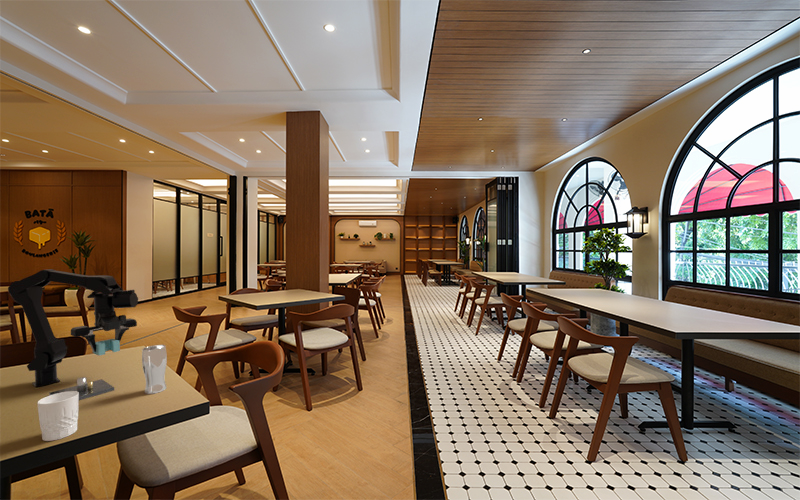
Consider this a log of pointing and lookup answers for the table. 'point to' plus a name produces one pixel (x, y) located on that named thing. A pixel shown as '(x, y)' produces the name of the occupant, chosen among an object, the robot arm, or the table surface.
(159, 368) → the beer glass
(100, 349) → the teal u-channel block
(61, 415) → the white cup
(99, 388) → the base plate
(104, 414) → the table surface
